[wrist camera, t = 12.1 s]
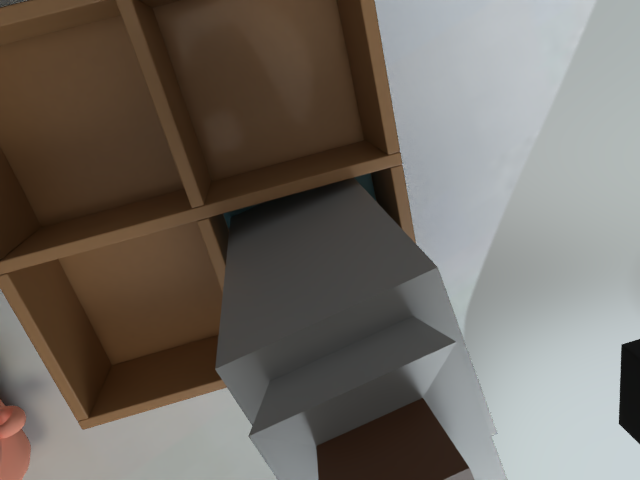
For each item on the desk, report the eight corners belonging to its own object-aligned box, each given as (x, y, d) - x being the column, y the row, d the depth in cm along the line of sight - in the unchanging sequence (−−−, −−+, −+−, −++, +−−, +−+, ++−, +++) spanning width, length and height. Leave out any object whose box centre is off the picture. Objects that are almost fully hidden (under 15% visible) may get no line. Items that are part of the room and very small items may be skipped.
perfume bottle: (230, 217, 25) (200, 516, 9) (342, 165, 25) (530, 367, 9) (282, 313, 28) (336, 685, 11) (384, 266, 28) (592, 572, 11)
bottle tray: (-58, 46, 21) (-144, 42, 16) (336, -52, 22) (361, -82, 17) (109, 369, 28) (82, 430, 24) (400, 285, 29) (430, 328, 25)
